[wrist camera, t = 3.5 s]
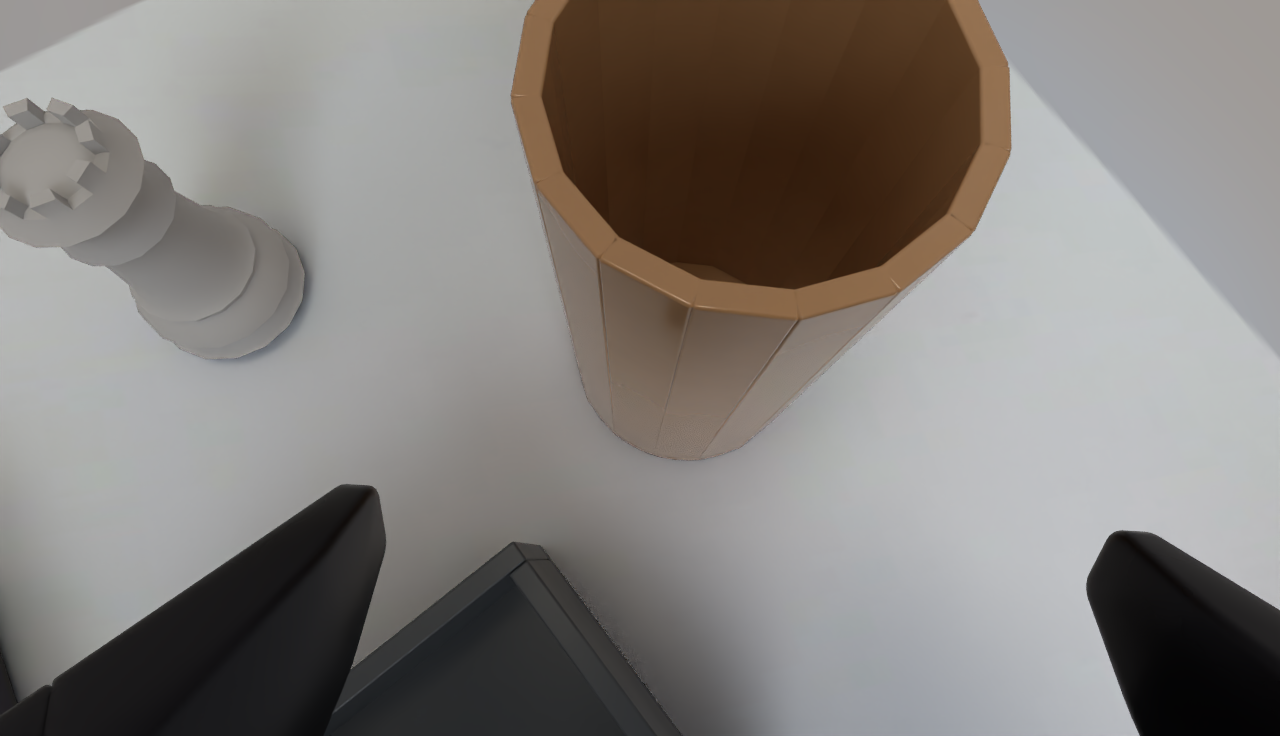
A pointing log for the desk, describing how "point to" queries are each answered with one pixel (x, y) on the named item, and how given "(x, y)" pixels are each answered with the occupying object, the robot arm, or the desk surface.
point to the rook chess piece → (145, 231)
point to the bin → (500, 665)
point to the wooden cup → (747, 189)
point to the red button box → (5, 690)
